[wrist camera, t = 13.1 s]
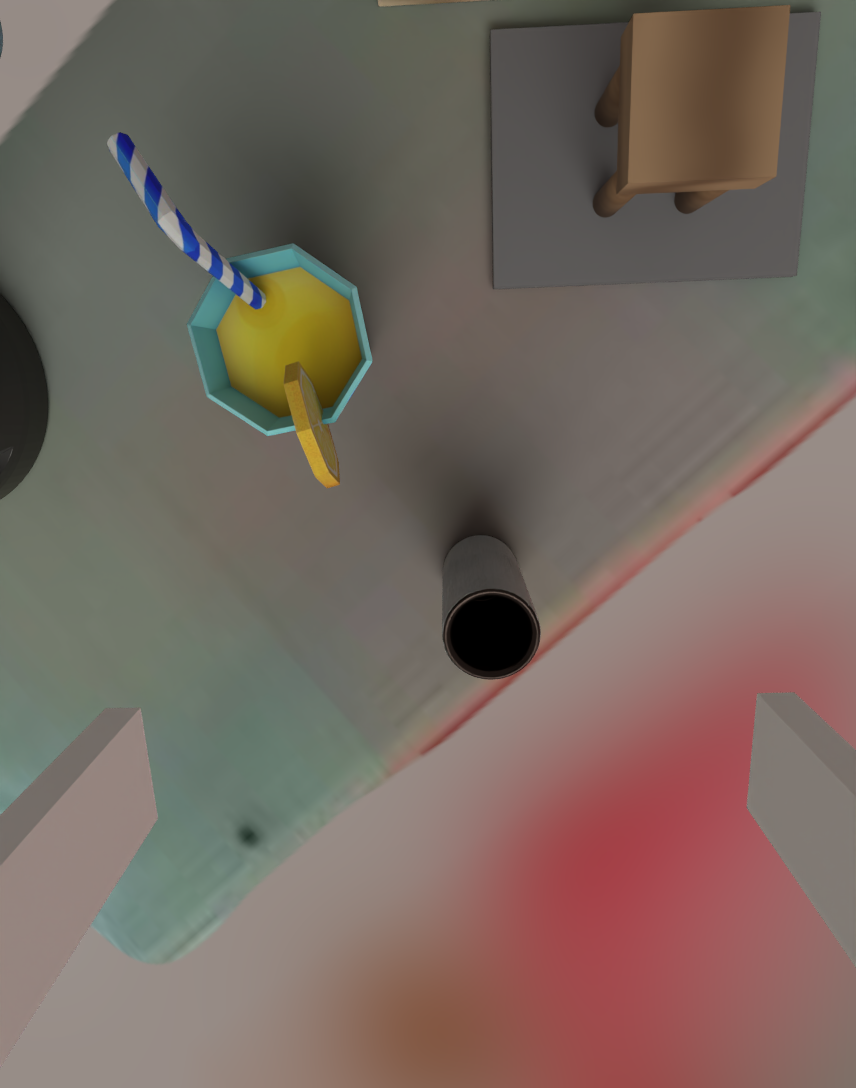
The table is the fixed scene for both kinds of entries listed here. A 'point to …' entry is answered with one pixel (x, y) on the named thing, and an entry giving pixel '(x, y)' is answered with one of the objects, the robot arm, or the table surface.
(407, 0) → the oak block
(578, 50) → the mat
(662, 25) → the stool
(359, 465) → the table surface
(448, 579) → the grey hollow cylinder
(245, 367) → the cup
